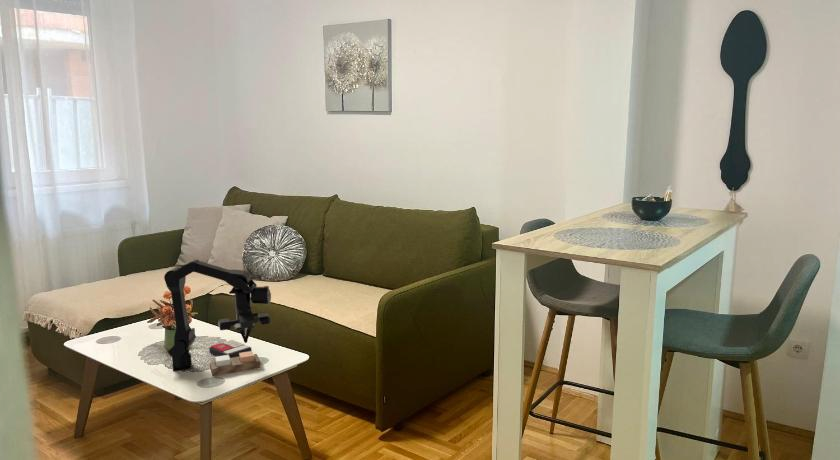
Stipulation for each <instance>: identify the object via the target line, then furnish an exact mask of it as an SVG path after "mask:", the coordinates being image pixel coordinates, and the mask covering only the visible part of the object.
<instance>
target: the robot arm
mask: <svg viewBox="0 0 840 460" xmlns="http://www.w3.org/2000/svg"><path fill="white" fill-rule="evenodd" d="M192 273H197V274H200V275H203V276H207V277H210V278H214V279H217V280H219V281H223V282H226V284H228V285H229V286H231V287H232V288H231V290H230V291H229V292H228V294H230V295H234V300H235V301H234V302H235V317H236V319H232V320H230V318H229V317H228V318H220V319H219V320H218V323H217V325H218V328H219V330H220V331H227V330H230V329H231V328H232V326H233V328H234V329H235V330H236V331H239V333H240V335H241V337H242V340H243V343H244V344H246V343H248V341H249V340H248V339H249V337H250V333H251V332H252V330H253V329H254V328H256V325H255V324H257V323H259V324H261V325H268V324H269V325H270V323H271V318H270V316H269V314H268V313H267V312H263V313H258V312H256V313H253V312H252V304H253V305H270V304H271V300H272V293H271V290H270V287H269V286H268V285H263V286H257V284H256V282H255V281H254V280H253V279H252V276H251V274H250V272H248V271H247V270H244V269H243V270H242V269H227V268H224V267H220V266H217V265H214V264H210V263H207V262H204V261H200V260H199V259H192V260H191V261H190V262H187V263H185V264H184V265H182V266H175V267H173V268H171V269H169V270H168V271H167V272H166V273H165V274H164V277H163V279H164V282H165V285H166V288H167V289H168V291H169V292H170V294H171V301H172V309H173V314H174V315H173V316H174V322H175V332H174V335H173V336H174V337H173V338H174V339H173V346H172V347H171V348H170V349H169V350H168V354H169V356H170V357H171V361H172V362H171V363H172V364H171V366H172V371H173V372H175V371H182V370H189V369H191V368H192V363H193V361H192V354H191V353H190V350H189V349H190V348H191V346H192V345H193V344H194V343H195V341H196V338H197V335H196V329H195V327H191V326H190V324H189V319H188V318H189V317H188V310H187V304H186V297H185V290H184V289H185V286H186V280H187V279H186V278H187V276H188V275H190V274H192Z"/></svg>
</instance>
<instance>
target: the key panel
mask: <svg viewBox="0 0 840 460" xmlns="http://www.w3.org/2000/svg"><path fill="white" fill-rule="evenodd" d="M253 354H254V361H250V362H244V363H240V360H239V357H234V358H230V364H231V365H225V366H219V367H216V364H215V360H209V369H210V373H211V377H217V376H218V377H219V376H222V375H228V374H235V373H240V372H246V371H251V370H252V371H253V370H258V369H259V370H260V369H261V368H262V367H261V366H262V365H261V359H260V357H259V355H258V354H257V353H253Z"/></svg>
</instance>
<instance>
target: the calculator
mask: <svg viewBox="0 0 840 460" xmlns="http://www.w3.org/2000/svg"><path fill="white" fill-rule="evenodd" d="M208 350H209V354H210V353H211V354H210V355H212V354H213V355H212V356H214V357H218V356H224V355H229V358H234V357H239V353H243V352H249V351H252V352H253V350H252V346H249V345H246V344H245V343H244V342H243V343H242V342H241V341H240V342H239V341H237V340H234V339H230V340H227V341H223V342H219V343H216V344H212V345H210V346H209V349H208Z"/></svg>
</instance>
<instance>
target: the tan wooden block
mask: <svg viewBox="0 0 840 460" xmlns="http://www.w3.org/2000/svg"><path fill="white" fill-rule="evenodd" d="M254 354H255V353H254V352H253V350H252V351H249V352H243V353H239V360H240V363H244V362H250V361H254Z"/></svg>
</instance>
